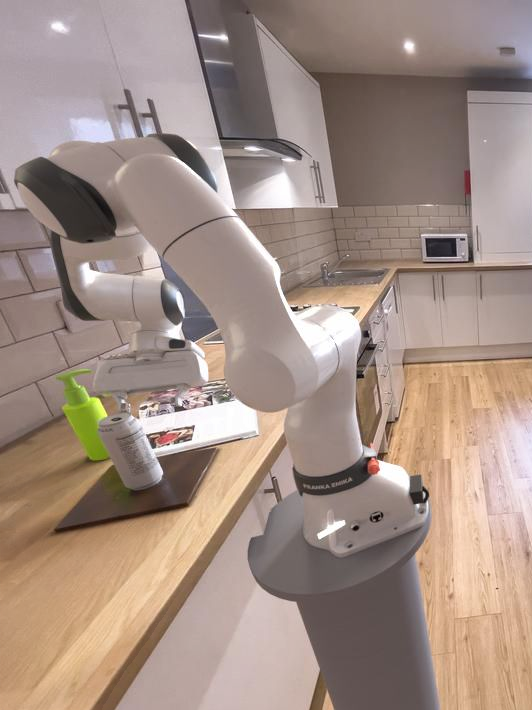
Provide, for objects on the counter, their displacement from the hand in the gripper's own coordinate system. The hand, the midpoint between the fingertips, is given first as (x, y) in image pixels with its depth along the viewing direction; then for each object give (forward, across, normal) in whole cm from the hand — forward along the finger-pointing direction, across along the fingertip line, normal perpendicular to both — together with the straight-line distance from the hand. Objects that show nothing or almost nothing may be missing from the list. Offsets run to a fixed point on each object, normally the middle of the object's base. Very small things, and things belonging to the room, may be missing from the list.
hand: (150, 409), depth 88 cm
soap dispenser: (+4, -15, +13) cm, 20 cm away
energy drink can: (+16, 0, 0) cm, 16 cm away
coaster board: (+16, 0, +1) cm, 16 cm away
